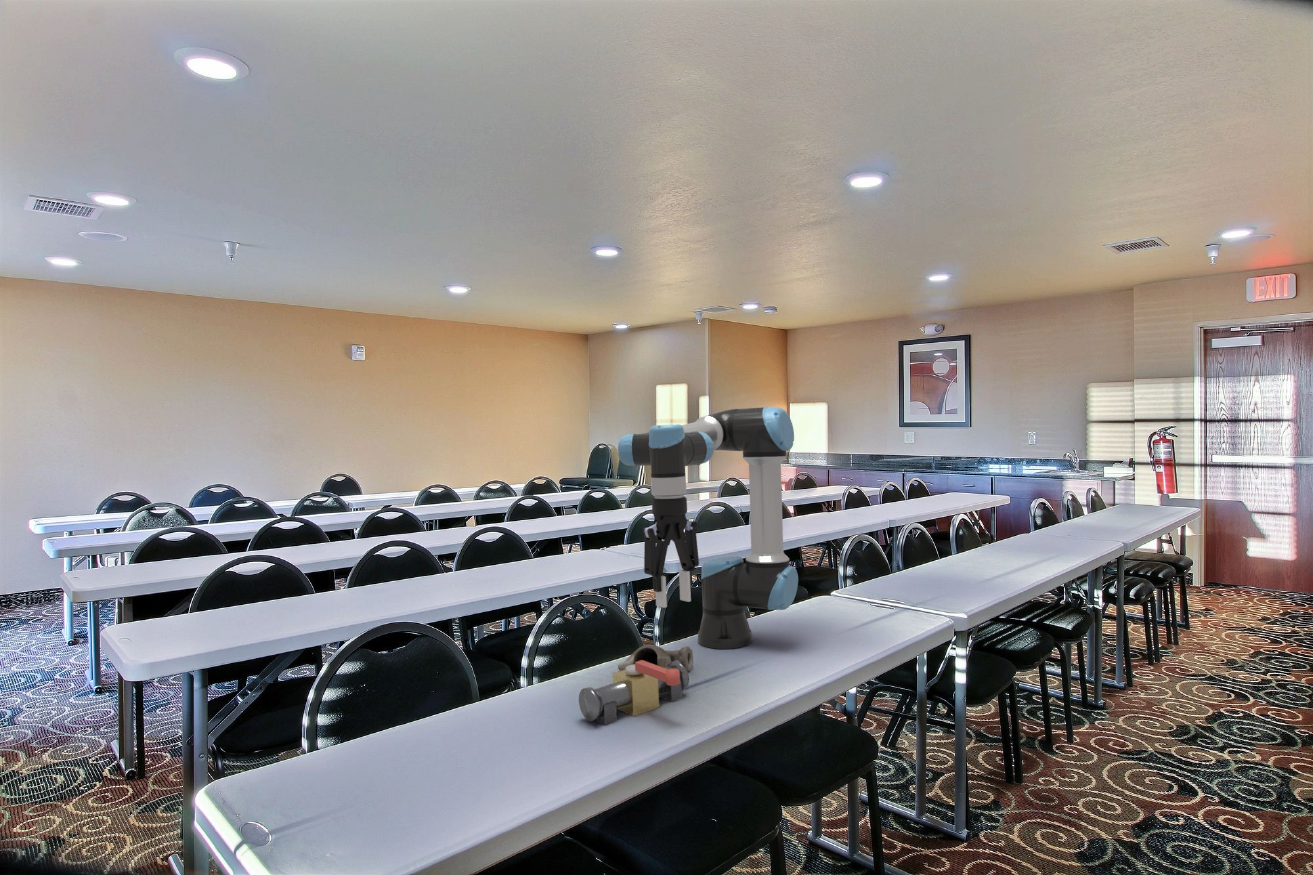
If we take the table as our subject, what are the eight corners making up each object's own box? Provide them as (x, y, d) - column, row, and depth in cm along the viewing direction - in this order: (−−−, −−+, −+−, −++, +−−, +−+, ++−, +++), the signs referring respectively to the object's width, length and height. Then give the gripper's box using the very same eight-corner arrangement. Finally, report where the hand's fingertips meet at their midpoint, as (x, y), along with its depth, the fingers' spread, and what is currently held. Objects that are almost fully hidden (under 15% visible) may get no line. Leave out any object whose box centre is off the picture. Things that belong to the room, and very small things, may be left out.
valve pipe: (670, 688, 174) (669, 656, 174) (690, 696, 168) (689, 663, 168) (579, 718, 158) (577, 683, 158) (597, 728, 153) (596, 692, 152)
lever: (622, 671, 163) (621, 656, 163) (636, 667, 166) (636, 652, 166) (670, 690, 150) (669, 674, 150) (685, 685, 153) (684, 669, 153)
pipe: (647, 703, 187) (625, 690, 175) (633, 672, 192) (610, 657, 180) (702, 668, 186) (684, 653, 174) (686, 638, 192) (667, 621, 180)
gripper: (690, 491, 169) (695, 592, 170) (622, 499, 157) (627, 608, 158) (713, 493, 163) (717, 598, 164) (644, 501, 152) (649, 615, 152)
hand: (673, 603), depth 161 cm, fingers open, 6 cm apart
